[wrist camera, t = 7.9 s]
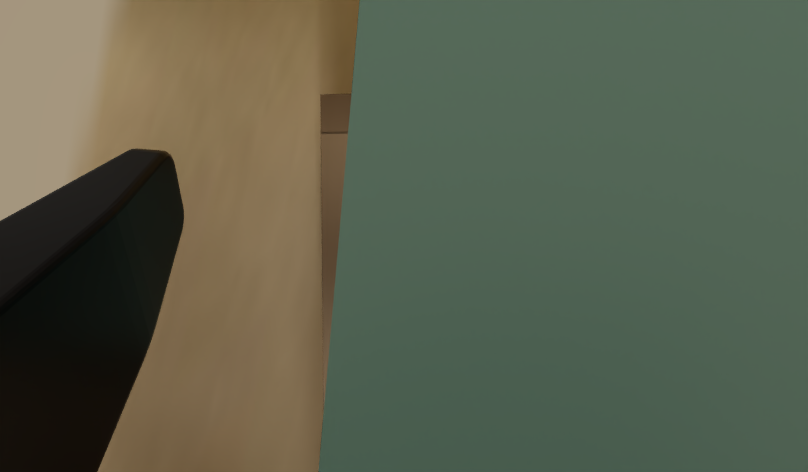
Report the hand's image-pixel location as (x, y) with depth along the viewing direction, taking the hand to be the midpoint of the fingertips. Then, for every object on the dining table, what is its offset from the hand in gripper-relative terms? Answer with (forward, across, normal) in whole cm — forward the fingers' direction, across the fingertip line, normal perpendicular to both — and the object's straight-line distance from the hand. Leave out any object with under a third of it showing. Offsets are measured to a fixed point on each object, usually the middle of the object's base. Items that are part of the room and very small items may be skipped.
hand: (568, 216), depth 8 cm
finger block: (+5, 0, +6) cm, 8 cm away
